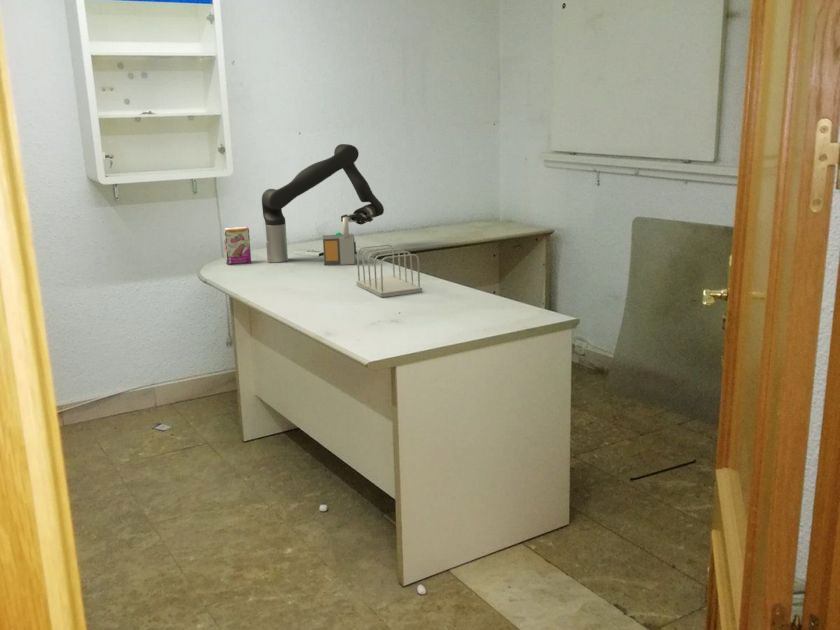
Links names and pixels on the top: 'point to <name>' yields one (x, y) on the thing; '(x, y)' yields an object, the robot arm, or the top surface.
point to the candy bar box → (237, 245)
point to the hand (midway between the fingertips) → (352, 220)
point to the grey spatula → (346, 245)
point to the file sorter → (390, 284)
